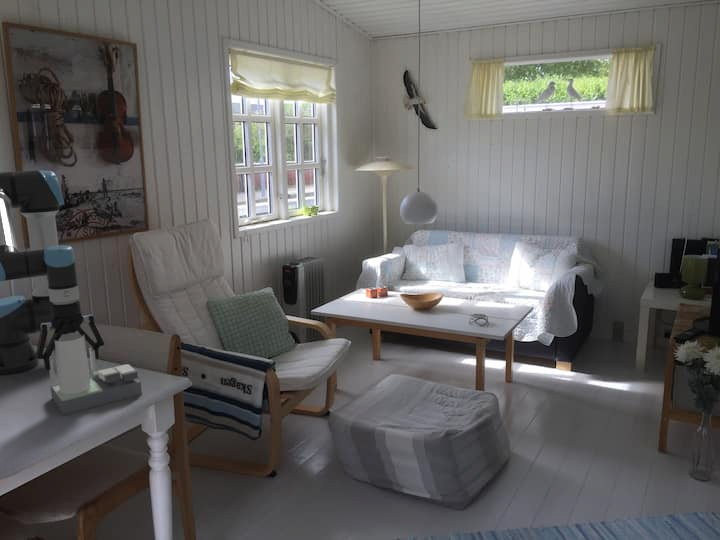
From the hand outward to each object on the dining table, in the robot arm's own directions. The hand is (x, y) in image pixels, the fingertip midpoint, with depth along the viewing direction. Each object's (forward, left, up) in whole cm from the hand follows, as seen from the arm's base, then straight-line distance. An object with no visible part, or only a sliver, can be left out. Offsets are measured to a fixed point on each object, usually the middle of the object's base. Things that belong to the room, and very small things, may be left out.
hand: (73, 374), depth 182 cm
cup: (0, 0, -4) cm, 4 cm away
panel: (-1, +6, -9) cm, 11 cm away
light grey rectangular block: (-3, +9, -3) cm, 11 cm away
